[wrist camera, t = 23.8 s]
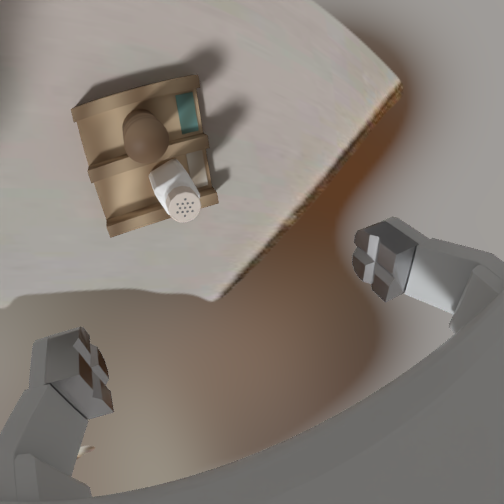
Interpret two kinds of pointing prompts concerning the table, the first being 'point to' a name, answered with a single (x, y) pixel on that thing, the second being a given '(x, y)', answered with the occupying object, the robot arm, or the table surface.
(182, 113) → the rack
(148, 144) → the dowel
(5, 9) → the table surface
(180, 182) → the pepper shaker
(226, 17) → the table surface
